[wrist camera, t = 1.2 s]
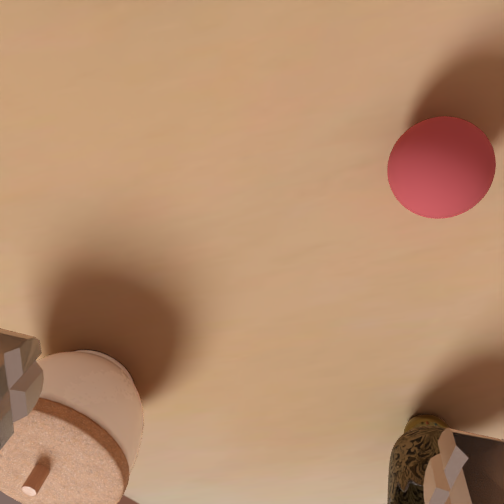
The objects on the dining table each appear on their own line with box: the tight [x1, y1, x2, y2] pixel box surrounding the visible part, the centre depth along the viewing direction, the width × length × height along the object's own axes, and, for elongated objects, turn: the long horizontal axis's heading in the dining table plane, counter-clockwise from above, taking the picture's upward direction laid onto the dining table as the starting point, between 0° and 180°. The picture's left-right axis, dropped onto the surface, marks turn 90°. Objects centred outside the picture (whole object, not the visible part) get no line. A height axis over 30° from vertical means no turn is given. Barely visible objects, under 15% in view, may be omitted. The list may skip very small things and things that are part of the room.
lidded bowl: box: [0, 350, 144, 504], centre depth 39 cm, size 13×13×11 cm
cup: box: [388, 414, 450, 504], centre depth 36 cm, size 8×7×8 cm
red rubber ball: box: [388, 116, 496, 218], centre depth 26 cm, size 6×6×6 cm
